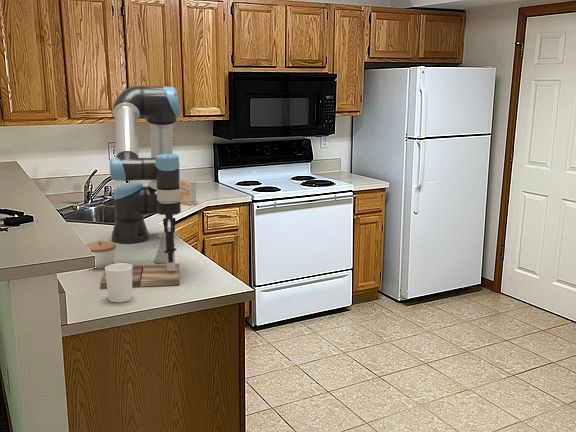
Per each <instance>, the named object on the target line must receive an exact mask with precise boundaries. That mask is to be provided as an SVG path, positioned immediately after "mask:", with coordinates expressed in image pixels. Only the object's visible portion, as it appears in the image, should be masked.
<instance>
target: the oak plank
mask: <svg viewBox="0 0 576 432" xmlns="http://www.w3.org/2000/svg"><path fill="white" fill-rule="evenodd" d="M177 285H180V263H178V262H177V263H176V262H175V271H168V272H167V264H159V263H155V264H144V265H143V273H142V277H141V283H140V287H159V286H161V287H162V286H177Z"/></svg>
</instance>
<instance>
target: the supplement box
mask: <svg viewBox="0 0 576 432" xmlns="http://www.w3.org/2000/svg"><path fill="white" fill-rule="evenodd" d="M180 205H186V206H190V207H191V206H195V205H197V182H196V181H194V180H189V179H183V180H181V179H180Z"/></svg>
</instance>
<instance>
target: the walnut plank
mask: <svg viewBox="0 0 576 432" xmlns="http://www.w3.org/2000/svg"><path fill="white" fill-rule="evenodd" d="M131 265H132V289H133V288H140V287H141V277H142V273H143V268H144V265H143V264H134V265H133V264H131ZM99 286H100V287H99V288H100V289H101V290H105V289H106V290H107V283H106V274H105V272H104V274H103V276H102V277H101V280H100V282H99Z"/></svg>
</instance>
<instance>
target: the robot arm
mask: <svg viewBox="0 0 576 432" xmlns="http://www.w3.org/2000/svg"><path fill="white" fill-rule="evenodd" d="M112 115H113V118H114V120H115V157H113V158H110V160H109V176H110V179H111V180H112V181H122V182H125V181H129V182H130V181H148V182H147V186H144V184H143V183H142V182H131V183H124V184H121V185H118V186H116V187H115V188H114V190H113V200H114V225H113V229H112V232H111V241H112V242H113V243H119V244H137V243H138V244H139V243H142V242H145V241H148V240H149V238H150V236H149V235H150V233H149V230H148V228H147V226H146V225H147V224H146V222H145V215H160V216H161V215H162V216H165V217H164V218H163V219H162V224H163V230H164V231H163V232H164V234H166V251H164V253H166V261H167V272H168V271H175V263H176V259H175V258H176V257H175V256H176V255H175V254H176V253H175V251H177V248H176V247H175V236H174V235H175V233H176V218H175V217H174V215H179V214H180V213H181V211H182V208H181V193H180V181H181V179H180V167H181V166H180V158H179V157H180V156H179V155H178V154H177V153H176V154H175V153H174V146H173V145H174V143H173V142H174V139H173V138H174V137H173V135H174V134H173V131H174V129H173V126H174V125H175V124H176V123H177V118H180V117H181V110H180V102H179V96H178V92H177V89H176V88H175V87H174V86H173V87H172V86H164V85H163V86H160V85H159V86H158V85H157V86H155V85H154V86H153V85H152V86H151V85H148V86H147V85H146V86H145V85H144V86H142V85H141V86H140V85H134V86H131V87H128V88H126V89H124V90H123V91H122V92H120V94H119V95H118V96H117V97H116V99H115V101H114V103H113V105H112ZM139 118H145V120H146V122H147V124H148V125H149V126H150V127H149V128H150V155H151V156H150V157H140V155H139V139H138V137H139V136H138V120H139Z"/></svg>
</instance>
